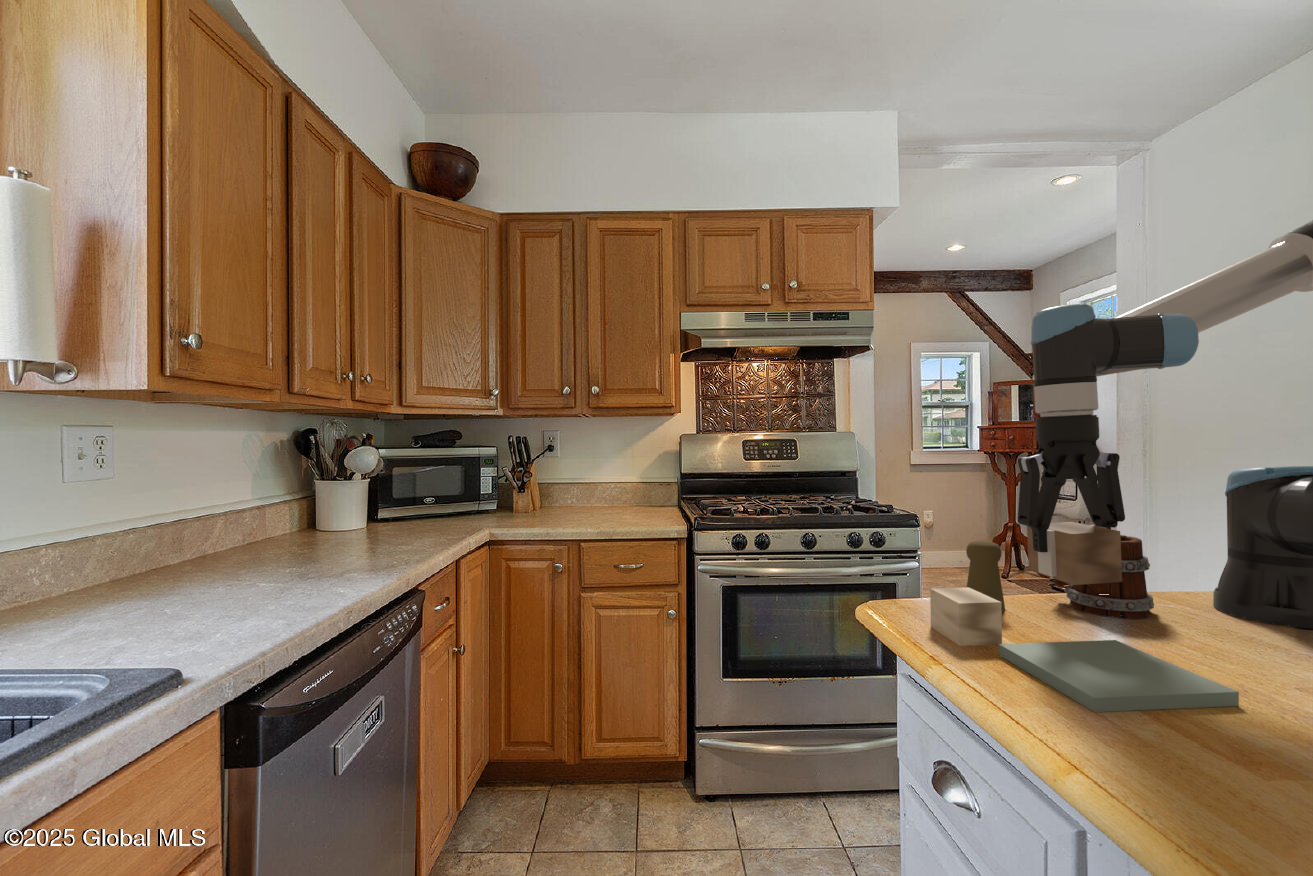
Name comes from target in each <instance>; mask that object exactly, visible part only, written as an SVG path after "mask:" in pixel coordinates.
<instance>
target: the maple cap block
mask: <svg viewBox="0 0 1313 876" xmlns="http://www.w3.org/2000/svg"><path fill="white" fill-rule="evenodd" d="M929 590H930V591H929V593H930V594H929V595H930V596H929V598H930V604H929V605H930V628H931V629H933V630H934V631H936V632H938V633H939V634H940V635H942V636H944V637H945V638H946V639H948V640H950V641H952V642H953V643H955V645H958V646H959V647H962V646H963V647H965V646H967V645H968V646H969V645H971V646H993V645H995V646H996V644H1003V630H1002V629H1003V624H1002V621H1003V620H1002V615H1003V614H1002V612H1003V611H1001V602H1000V601H998V600H995V599H993V598H991V597H989V596H987V595H984V594H982V593H980V592H978V591H976V590H973V589H971V588H969V587H967V586H966V587H940V588H939V587H938V588H936V587H935V588H929Z"/></svg>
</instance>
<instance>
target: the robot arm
mask: <svg viewBox="0 0 1313 876" xmlns="http://www.w3.org/2000/svg"><path fill="white" fill-rule="evenodd" d="M1312 291H1313V219H1312V220H1311V221H1308V222H1307V223H1305V224H1303V225H1301V226H1299V227H1297V228H1295V229H1293V230H1292V231H1289V232H1287V233H1285V234H1282V235H1280V236H1278V237H1277V238H1275V239H1274V240H1272V242H1271V243H1270V244H1269V246H1268V248H1267V249H1265V250H1262V251H1261V252H1258V253H1256V254H1254V255H1251V256H1249V257H1247V258H1246V259H1243V260H1240V261H1238V262H1236V263H1234V264H1231V265H1230V266H1227V267H1225V268H1223V269H1220V270H1218V271H1216V272H1214V273H1211V274H1210V275H1207V276H1205V277H1203V278H1200V279H1198V280H1196V281H1194V282H1192V283H1190V284H1187V285H1186V286H1183V287H1181V288H1179V289H1176V290H1174V291H1171V292H1170V293H1167V294H1165V295H1163V296H1160V297H1159V298H1156V299H1153V300H1152V301H1149V302H1147V303H1145V304H1143V305H1141V306H1139V307H1138V306H1137V307H1136V308H1134V309H1132V310H1129V311H1127V312H1124V313H1123V314H1121V315H1118V316H1117V317H1110V318H1101V317H1098V318H1096V313H1095V309H1094V307H1093V306H1092V305H1090V304H1085V303H1083V304H1080V303H1076V304H1075V303H1074V304H1073V303H1072V304H1064V305H1057V306H1053V307H1048V308H1045V309H1042V310H1039V311H1038V312H1036V313H1035V314H1034V315H1033V317H1032V321H1031V341H1030V345H1031V350H1032V365H1033V366H1032V367H1033V379H1034V382H1033V385H1034V388H1033V389H1034V410H1035V413H1036V414H1040V415H1039V416H1040V417H1036V419H1035V434H1036V435H1035V437H1036V441H1037V443H1038V445H1039V446H1038V450H1037V451H1036V454H1034V455H1031V456H1020V457H1019V458H1017V464H1018V467H1019V472H1020V479H1019V480H1020V482H1019V496H1018V506H1017V507H1018V508H1017V509H1018V510H1017V522H1018V524H1019V525H1023V526H1026V527H1027V526H1028V527H1030V528H1031V529H1032V536H1033V548H1034V551H1038V568H1039V573H1042V574H1045V575H1048V576H1051V577H1055V576H1057V570H1056V548H1055V531H1054V530H1049V526H1050V523H1052V520H1053V516H1054V513H1055V510H1056V506H1057V503H1058V499H1059V496H1060V494H1061V491H1062V487H1063V486H1065V485H1066V483H1067V480H1070V479H1072V481H1073V482H1074V483H1075V484H1076V485H1077V488H1078V490H1079V493H1080V495H1081V497H1082V499H1083V502H1084V504H1085V507H1086V510H1087V512H1088V514H1089V517H1090V519H1091V522H1092V524H1090V525H1091V526H1096V527H1101V528H1106V529H1111V530H1112V528H1113V529H1114V528H1117V527H1118V524H1119V523H1118V522H1120V523H1121V522H1124V521H1125V519H1126V514H1125V508H1124V501H1123V495H1122V489H1121V483H1120V475H1119V472H1118V469H1119V463H1120V455H1119V454H1118V453H1115V452H1102V451H1101V450H1100V449H1099V447H1098V445H1097V441H1098V440H1099V439H1100V418H1099V416H1098V415H1097V414H1094V412H1095V411H1097V410H1099V396H1098V395H1099V393H1098V383H1097V382H1098V377H1101V376H1102V377H1103V376H1107V375H1114V374H1120V373H1127V372H1133V371H1138V370H1139V371H1141V370H1148V369H1158V370H1163V369H1164V368H1175V367H1181V366H1185V364H1187V363H1188V362H1190V361H1191V360H1192V358H1193V357H1194V356H1195V355H1196V352H1197V350H1198V347H1199V343H1200V339H1199V333H1201V332H1203V331H1207V330H1209V329H1210V328H1213V327H1215V326H1218V325H1220V324H1223V323H1225V322H1227V321H1229V320H1231V319H1234V318H1236V317H1238V316H1241V315H1243V314H1245V313H1247V312H1250V311H1253V310H1254V309H1257V308H1260V307H1261V306H1264V305H1266V304H1268V303H1271V302H1274V301H1275V300H1278V299H1280V298H1283V297H1285V296H1286V295H1289V294H1290V295H1291V294H1292V293H1293V292H1303V293H1307V292H1312ZM1095 465H1096V470H1095V467H1094V466H1095ZM1042 467H1043V470H1042V471H1043V472H1042V475H1041V471H1040V470H1041V469H1042ZM1040 482H1041V485H1040ZM1224 495H1225V497H1226V535H1227V536H1226V542H1227V558H1226V559H1227V560H1226V562H1225V566H1224V567H1223V570H1222V573H1221V575H1220V578H1219V580H1218V583H1217V587H1215V588H1214V590H1213V593H1212V597H1213V598H1212V599H1213V601H1212V602H1213V603H1212V605H1213V607H1214V608H1215V609H1217V610H1219V611H1221V612H1223V613H1226V614H1228V615H1232V616H1235V617H1238V618H1243V619H1247V620H1252V621H1257V622H1260V623H1266V624H1271V625H1279V626H1285V627H1290V628H1291V627H1292V628H1301V629H1302V628H1303V629H1312V630H1313V465H1309V466H1308V465H1301V466H1300V465H1298V466H1295V465H1294V466H1272V467H1270V466H1269V467H1267V466H1265V467H1251V468H1241V469H1236V470H1233V471H1232V472H1230V473H1229V475H1228V476H1227V481H1226V490H1225V492H1224ZM1039 573H1038V574H1039ZM1042 574H1041V575H1042ZM1045 575H1044V576H1045ZM1048 576H1047V577H1048ZM1051 577H1050V578H1051Z"/></svg>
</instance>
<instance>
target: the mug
mask: <svg viewBox="0 0 1313 876" xmlns="http://www.w3.org/2000/svg"><path fill="white" fill-rule="evenodd" d="M1120 538H1121V562H1122V582H1114V583H1098V584H1082V585H1072V584H1069V583H1066V582H1063V581H1060V580H1057V579H1054V578H1053V584H1054V586H1055V587H1058V588H1062V587H1064V586H1066V585H1068V584H1069V585H1068V586H1067V587H1066V588H1065V589H1064V593H1065V594H1066V597H1067V599H1069V600H1070V601H1069V605H1071V606H1072V608H1074V609H1077V610H1078V611H1081V612H1082V611H1083V612H1085V613H1088V614H1092V615H1097V616H1102V617H1108V618H1117V619H1118V618H1119V619H1121V618H1124V619H1132V620H1133V619H1144V618H1147V617H1149V616H1150V615H1151V610H1152V609H1154V608H1155V603H1154V598H1153V595H1152V594H1150V593H1149V592H1148V590H1147V589H1148V588H1147V582H1146V574H1145V572H1146V571H1148V570H1150V567H1151V564H1150V562H1149V558H1148V557H1147V556H1145V555H1144V553H1143V552H1144V551H1143V540H1142V539H1140V538H1138V537H1134V536H1130V535H1129V536H1127V535H1125V534H1123V535H1122V534H1120ZM1099 594H1109V595H1099Z"/></svg>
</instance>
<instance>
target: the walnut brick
mask: <svg viewBox="0 0 1313 876" xmlns="http://www.w3.org/2000/svg"><path fill="white" fill-rule="evenodd" d="M1091 525H1092V524H1084V523H1079V522H1076V521H1064V522H1063V521H1062V522H1051V523H1050V526H1049V530H1054V531H1055V548H1056V570H1057V576H1055V577H1051V576H1048V575H1045V574H1042V573H1039V568H1038V551H1034V548H1033V536H1032V529H1031V528H1030V527H1028V526H1026V530H1027V531H1026V534H1027V536H1026V538H1027V556H1028V557H1027V558H1028V571H1031V572H1033V573H1037V574H1039V575H1042V576H1045V577H1049V578H1051V579H1053V580H1054V579H1057V580H1060V581H1063V582H1066V583H1068V584H1069V585H1082V584H1098V583H1114V582H1122V562H1121V538H1120V535H1121V531H1120V530H1115V529H1112V528H1111V529H1106V528H1101V527H1096V526H1091Z"/></svg>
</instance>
